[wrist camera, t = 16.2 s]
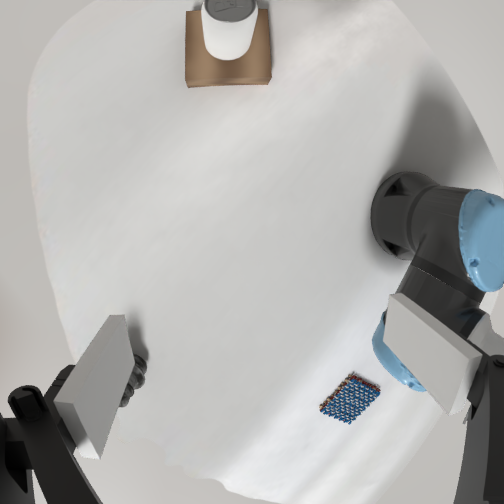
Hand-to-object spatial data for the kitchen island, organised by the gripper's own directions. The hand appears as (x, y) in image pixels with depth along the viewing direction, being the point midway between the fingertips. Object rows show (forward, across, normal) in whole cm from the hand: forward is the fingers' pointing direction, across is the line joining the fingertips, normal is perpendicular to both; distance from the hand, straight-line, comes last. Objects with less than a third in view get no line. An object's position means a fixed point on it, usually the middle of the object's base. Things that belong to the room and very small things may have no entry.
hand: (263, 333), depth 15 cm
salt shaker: (+35, -20, -25) cm, 47 cm away
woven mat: (+35, +22, -38) cm, 56 cm away
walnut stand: (+35, 0, +27) cm, 44 cm away
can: (+31, 0, +27) cm, 41 cm away
